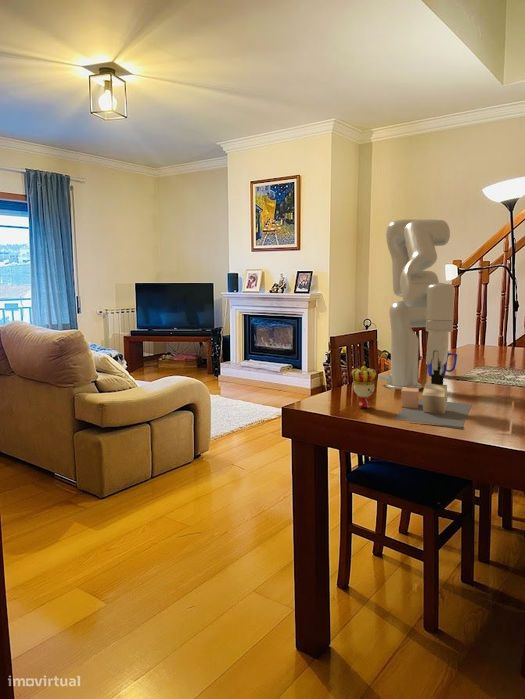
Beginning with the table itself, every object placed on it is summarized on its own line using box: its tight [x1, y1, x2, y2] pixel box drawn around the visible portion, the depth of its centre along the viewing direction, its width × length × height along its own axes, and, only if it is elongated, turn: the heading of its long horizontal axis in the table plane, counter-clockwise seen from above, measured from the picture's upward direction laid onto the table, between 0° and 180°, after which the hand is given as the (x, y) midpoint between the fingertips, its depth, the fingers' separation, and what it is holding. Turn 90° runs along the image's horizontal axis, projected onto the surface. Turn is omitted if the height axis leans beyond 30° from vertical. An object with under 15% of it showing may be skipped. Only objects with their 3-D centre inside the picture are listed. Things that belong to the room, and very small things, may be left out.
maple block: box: [421, 382, 448, 414], centre depth 149 cm, size 6×6×6 cm
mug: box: [426, 352, 458, 377], centre depth 209 cm, size 8×12×10 cm
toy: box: [351, 360, 377, 410], centre depth 154 cm, size 7×7×15 cm
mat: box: [392, 398, 473, 430], centre depth 150 cm, size 18×28×1 cm, turn 153°
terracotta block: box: [400, 388, 420, 408], centre depth 157 cm, size 5×5×5 cm
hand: (437, 387), depth 151 cm, fingers closed
